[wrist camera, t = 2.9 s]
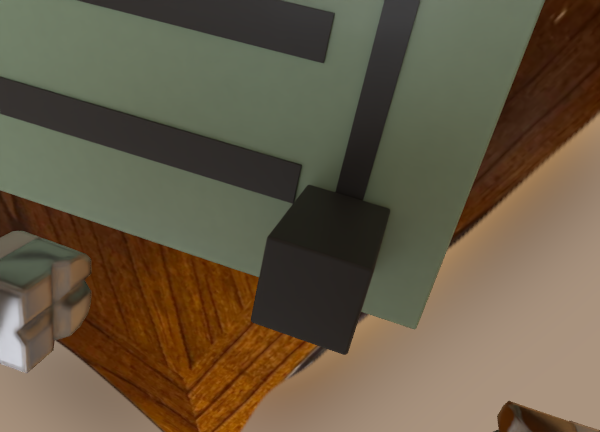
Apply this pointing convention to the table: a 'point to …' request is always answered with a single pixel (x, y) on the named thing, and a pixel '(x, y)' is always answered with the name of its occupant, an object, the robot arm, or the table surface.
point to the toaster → (259, 118)
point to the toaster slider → (319, 267)
